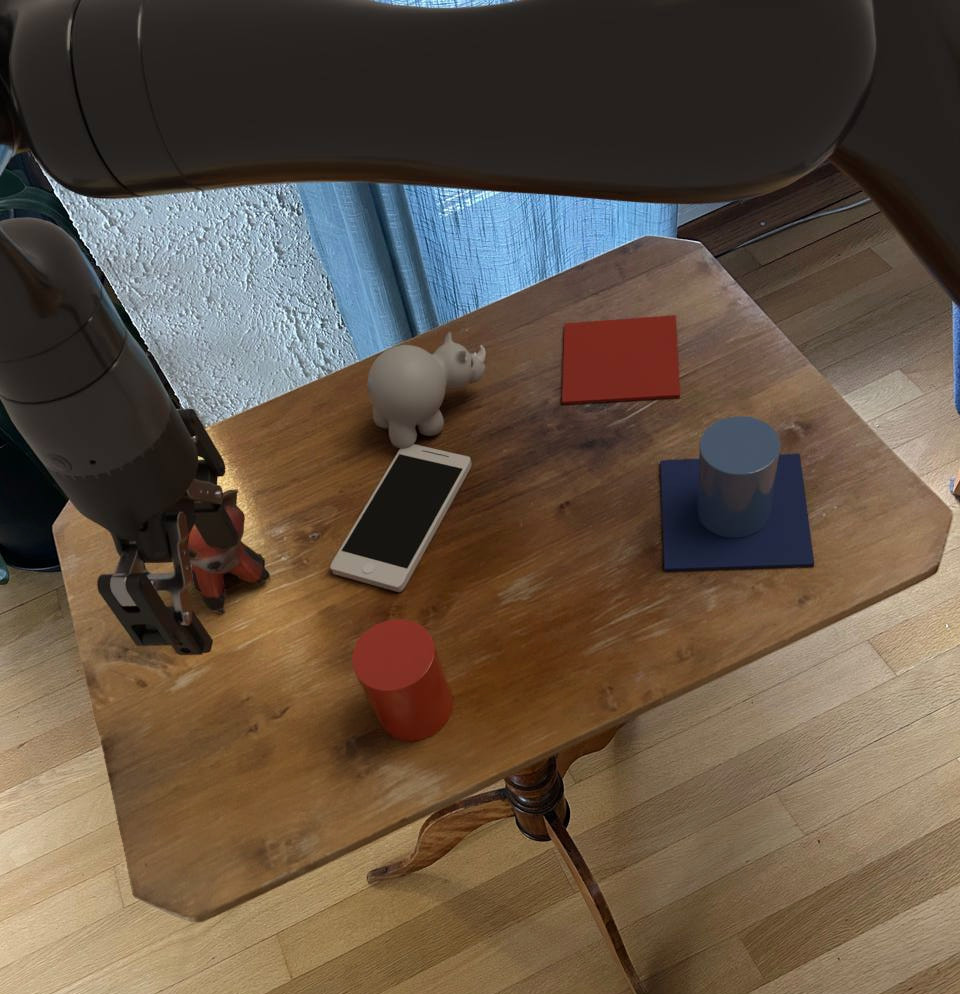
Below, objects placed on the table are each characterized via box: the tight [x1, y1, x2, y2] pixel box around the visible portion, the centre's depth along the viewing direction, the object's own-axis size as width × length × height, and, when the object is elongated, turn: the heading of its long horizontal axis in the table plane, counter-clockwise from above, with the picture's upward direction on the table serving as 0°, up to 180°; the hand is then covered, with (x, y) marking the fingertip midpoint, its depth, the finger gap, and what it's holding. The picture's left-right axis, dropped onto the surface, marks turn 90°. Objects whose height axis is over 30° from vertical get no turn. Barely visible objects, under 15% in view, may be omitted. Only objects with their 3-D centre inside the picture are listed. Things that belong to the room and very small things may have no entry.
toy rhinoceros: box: [366, 331, 487, 449], centre depth 96 cm, size 7×12×8 cm, turn 118°
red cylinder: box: [351, 618, 454, 742], centre depth 79 cm, size 6×6×8 cm
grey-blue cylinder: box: [697, 415, 781, 538], centre depth 84 cm, size 6×6×8 cm
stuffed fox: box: [188, 488, 271, 615], centre depth 88 cm, size 8×11×12 cm
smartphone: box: [329, 443, 473, 593], centre depth 92 cm, size 7×16×1 cm, turn 156°
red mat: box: [561, 314, 681, 406], centre depth 99 cm, size 11×11×1 cm
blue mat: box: [660, 453, 815, 572], centre depth 87 cm, size 12×12×1 cm
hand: (211, 593), depth 68 cm, fingers open, 8 cm apart
